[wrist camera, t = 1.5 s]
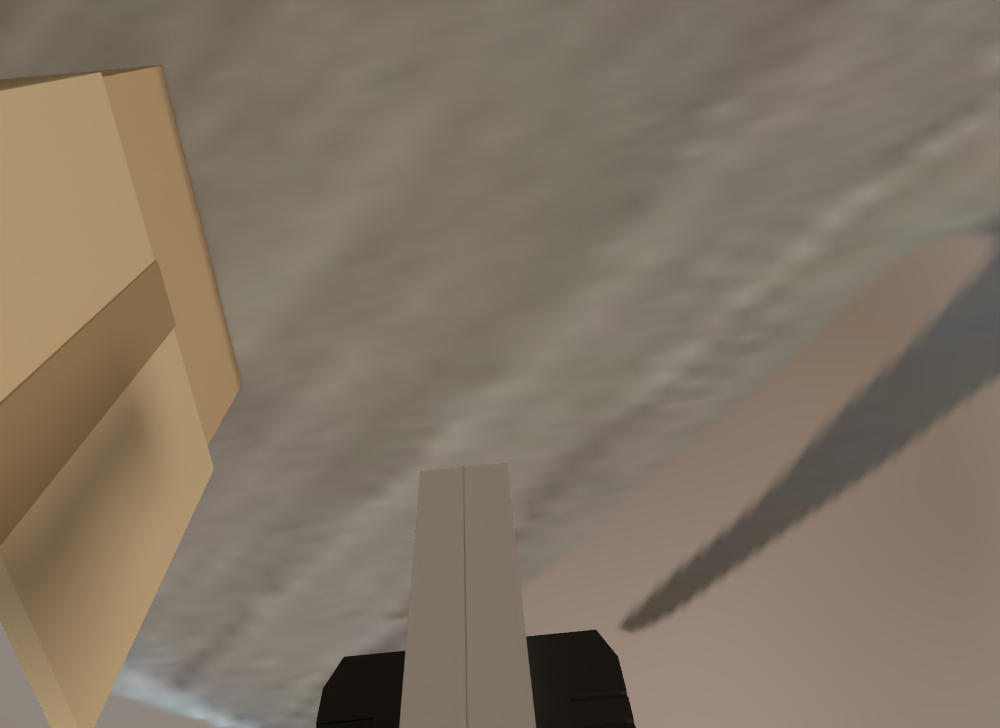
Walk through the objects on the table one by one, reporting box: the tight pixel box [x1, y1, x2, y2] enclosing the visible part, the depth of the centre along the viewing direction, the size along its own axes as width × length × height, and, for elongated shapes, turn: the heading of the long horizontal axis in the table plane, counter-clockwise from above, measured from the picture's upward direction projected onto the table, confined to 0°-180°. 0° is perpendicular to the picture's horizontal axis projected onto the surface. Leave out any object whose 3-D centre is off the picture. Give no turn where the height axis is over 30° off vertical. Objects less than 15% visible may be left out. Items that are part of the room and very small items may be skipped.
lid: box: [0, 72, 214, 728], centre depth 21 cm, size 14×12×1 cm
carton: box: [0, 66, 242, 446], centre depth 29 cm, size 14×12×7 cm
